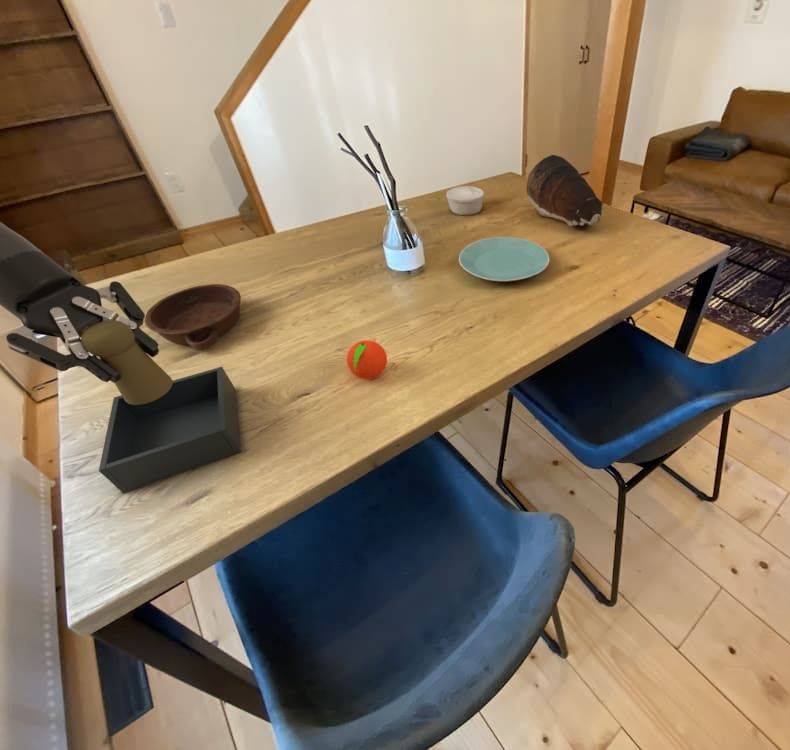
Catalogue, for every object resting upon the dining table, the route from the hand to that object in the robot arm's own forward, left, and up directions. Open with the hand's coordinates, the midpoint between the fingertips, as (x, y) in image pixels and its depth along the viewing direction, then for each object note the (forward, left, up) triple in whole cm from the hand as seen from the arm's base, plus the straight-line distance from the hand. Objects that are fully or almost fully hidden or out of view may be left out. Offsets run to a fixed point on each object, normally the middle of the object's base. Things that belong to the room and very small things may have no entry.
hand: (137, 365), depth 58 cm
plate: (+69, +26, -16) cm, 75 cm away
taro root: (+97, +42, -16) cm, 107 cm away
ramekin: (+75, +63, -16) cm, 99 cm away
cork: (-1, +1, -5) cm, 6 cm away
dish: (+2, +34, -16) cm, 37 cm away
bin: (-1, +2, -16) cm, 16 cm away
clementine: (+29, +2, -16) cm, 33 cm away
